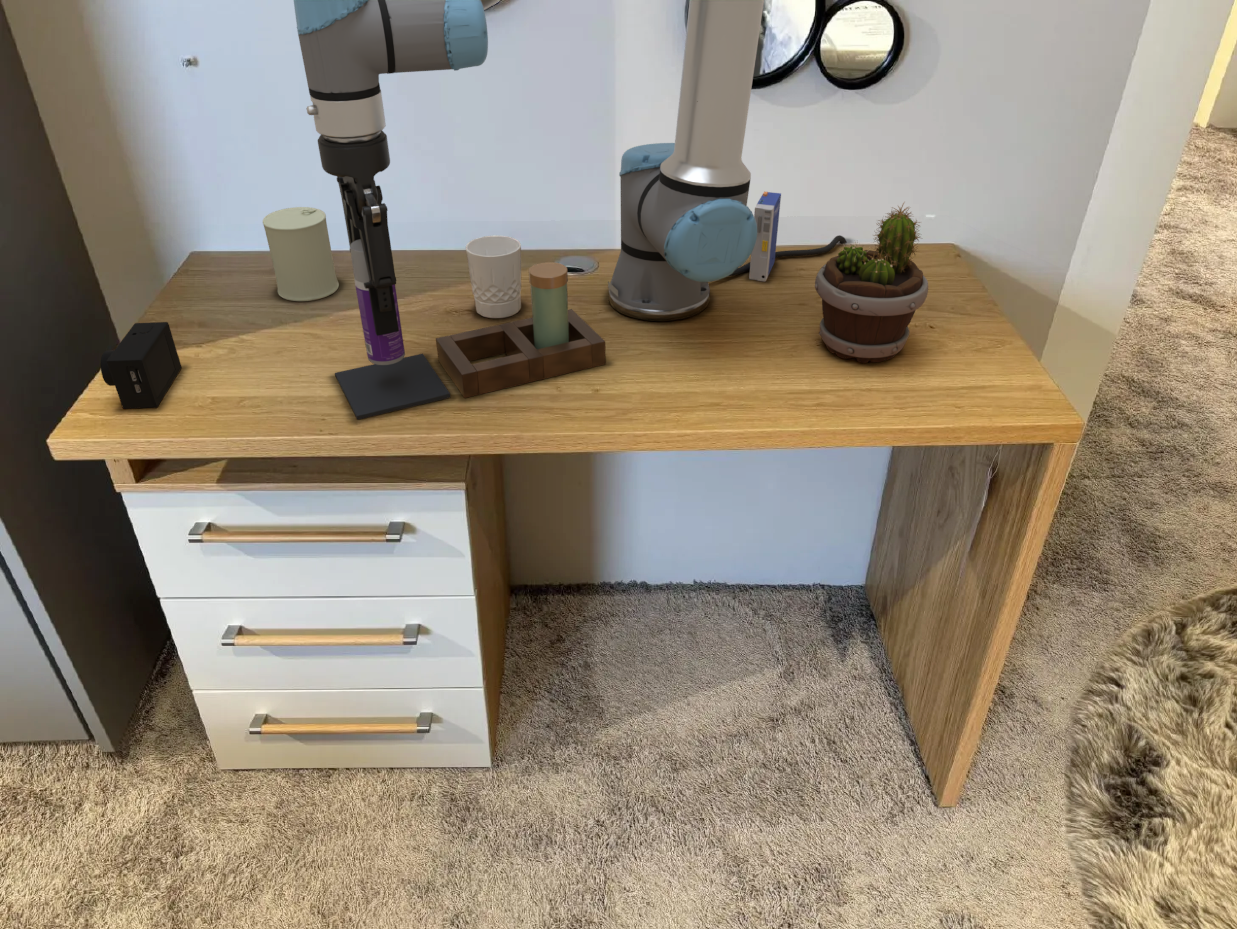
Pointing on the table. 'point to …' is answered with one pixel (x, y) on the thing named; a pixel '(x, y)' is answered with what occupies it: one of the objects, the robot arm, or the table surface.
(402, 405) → the mat
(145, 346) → the digital camera
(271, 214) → the can
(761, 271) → the walkman
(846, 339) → the flowerpot
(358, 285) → the container
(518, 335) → the bottle rack
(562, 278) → the spice jar
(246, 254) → the table surface
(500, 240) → the white cup
